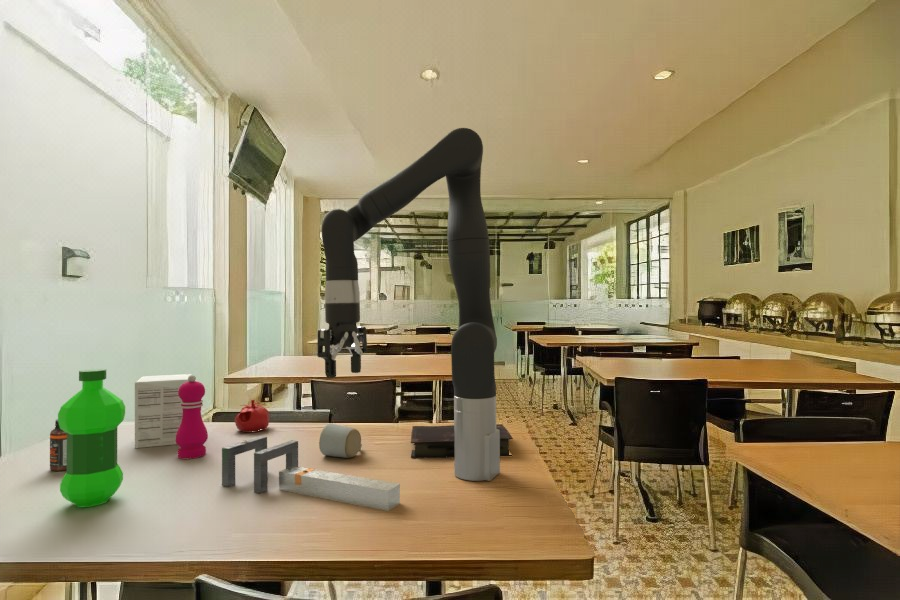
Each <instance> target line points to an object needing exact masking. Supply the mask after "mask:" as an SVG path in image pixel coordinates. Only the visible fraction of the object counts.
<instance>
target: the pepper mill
mask: <svg viewBox="0 0 900 600" xmlns="http://www.w3.org/2000/svg"><path fill="white" fill-rule="evenodd" d="M196 379H197V376H196V375H194V374H193V375H190V376H189V377H188V381H189V382H186V383H184V384H182V385H181V386H180V388H179V391H178V395H179V397H180V398H181V399H182V402H181V408H182V409H183V416H182V421H181V424H180V427H179V429H178V431H177V434H176V444H175V445H177V446H178V447H179V448H178V449H177V458H179V459H182V460H191V458H192V459H196V458H201V457H203V456H206V454H207V453H206V452H207V449H206V447H207V446H205V445H204V444H205V443H206V442H207V441H208V438H209V434H208V429H207V427H206V425H205V423H204V421H203V417H202V407H203V406H204V404H203V402H204V401H203V398H204V396H205V394H206V387H205V386H204V384H203V383H201V382H200V381H196ZM200 456H201V457H200Z"/></svg>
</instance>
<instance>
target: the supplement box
mask: <svg viewBox="0 0 900 600" xmlns="http://www.w3.org/2000/svg"><path fill="white" fill-rule="evenodd" d="M190 375H194V374H192V373H184V374H183V373H181V374H165V375H143V376H142V377H140V378H139V379H138V380H136V381H135V382H134V449H141V448H150V447H161V446H171V445H172V446H173V445H177V444H176V434H177V431H178V429H179V427H180V424H181V421H182V416H183V409H182V408H181V402H182V399H181V398H180V397H179V395H178V391H179V388H180V386H181V385H182V384H184V383H186V382H189V381H188V377H189V376H190Z"/></svg>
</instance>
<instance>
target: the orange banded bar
mask: <svg viewBox="0 0 900 600" xmlns="http://www.w3.org/2000/svg"><path fill="white" fill-rule="evenodd" d="M278 482H279V483H278V490H279V491H284V492H289V493H294V494H299V495H304V496H310V497H315V498H320V499H325V500H329V501H336V502H341V503H345V504H351V505H356V506H360V507H365V508H369V509H370V508H371V509H376V510H381V511H386V512H389V511H391V510H392V509H394V508H395V507H397V506H399V505H400V503H401V483H398V482H397V483H396V482H392V481H386V480H380V479H374V478H367V477H361V476H356V475H349V474H344V473H337V472H331V471H326V470H320V469H315V468H310V467H309V468H307V467H301V466H298V467H297V466H291V467H289V468H286V467H285V468H284V469H282V470H279V471H278Z"/></svg>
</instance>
